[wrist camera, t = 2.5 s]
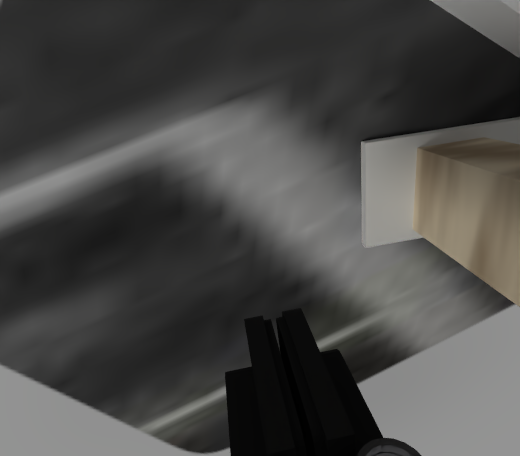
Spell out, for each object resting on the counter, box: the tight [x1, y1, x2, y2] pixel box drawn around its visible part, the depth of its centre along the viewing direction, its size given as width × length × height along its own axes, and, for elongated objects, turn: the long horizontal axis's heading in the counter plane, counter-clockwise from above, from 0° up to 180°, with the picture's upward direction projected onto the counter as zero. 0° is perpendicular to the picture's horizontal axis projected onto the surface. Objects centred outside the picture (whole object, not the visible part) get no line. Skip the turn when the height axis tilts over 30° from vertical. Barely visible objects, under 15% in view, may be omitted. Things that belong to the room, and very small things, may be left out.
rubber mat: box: [361, 117, 520, 248], centre depth 21 cm, size 19×6×1 cm, turn 97°
